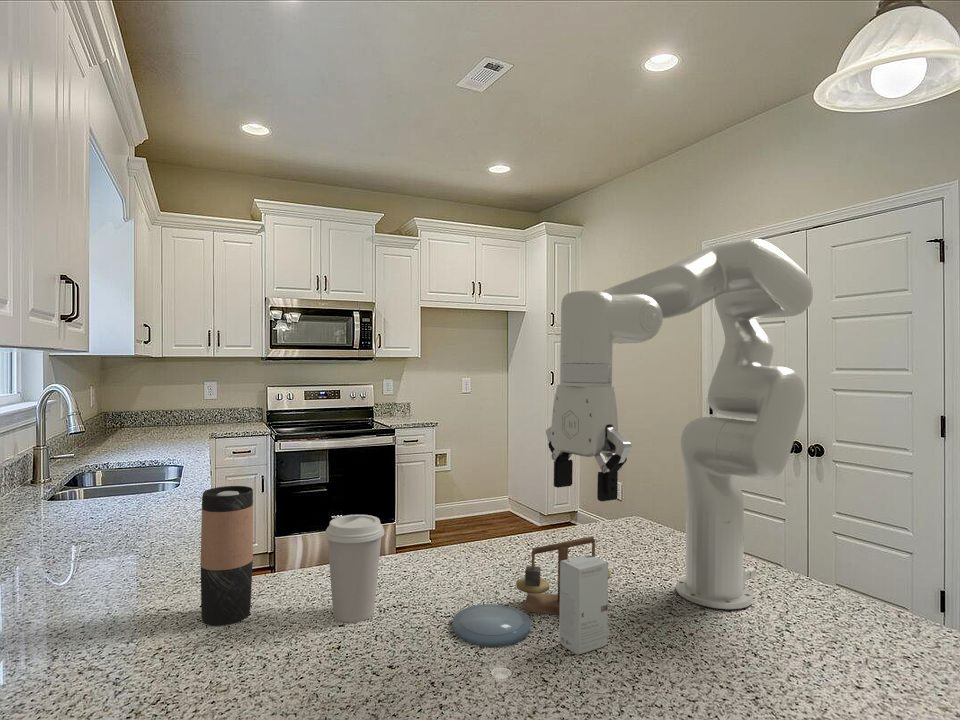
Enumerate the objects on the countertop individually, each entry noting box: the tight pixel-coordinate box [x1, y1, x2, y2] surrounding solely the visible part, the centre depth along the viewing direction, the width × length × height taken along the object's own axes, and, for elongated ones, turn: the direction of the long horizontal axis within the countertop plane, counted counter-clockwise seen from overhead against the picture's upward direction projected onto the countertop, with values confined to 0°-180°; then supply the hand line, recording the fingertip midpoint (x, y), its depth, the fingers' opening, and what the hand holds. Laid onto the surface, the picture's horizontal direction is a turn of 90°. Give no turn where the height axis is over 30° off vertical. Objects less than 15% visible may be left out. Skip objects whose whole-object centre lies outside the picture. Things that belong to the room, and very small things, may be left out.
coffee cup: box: [324, 514, 385, 623], centre depth 92 cm, size 10×10×15 cm
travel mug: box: [200, 485, 254, 627], centre depth 91 cm, size 8×8×20 cm
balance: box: [515, 535, 611, 615], centre depth 95 cm, size 16×6×12 cm, turn 81°
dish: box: [452, 603, 531, 647], centre depth 88 cm, size 12×12×1 cm
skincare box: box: [558, 554, 609, 655], centre depth 83 cm, size 6×4×12 cm
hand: (584, 492), depth 83 cm, fingers open, 9 cm apart
